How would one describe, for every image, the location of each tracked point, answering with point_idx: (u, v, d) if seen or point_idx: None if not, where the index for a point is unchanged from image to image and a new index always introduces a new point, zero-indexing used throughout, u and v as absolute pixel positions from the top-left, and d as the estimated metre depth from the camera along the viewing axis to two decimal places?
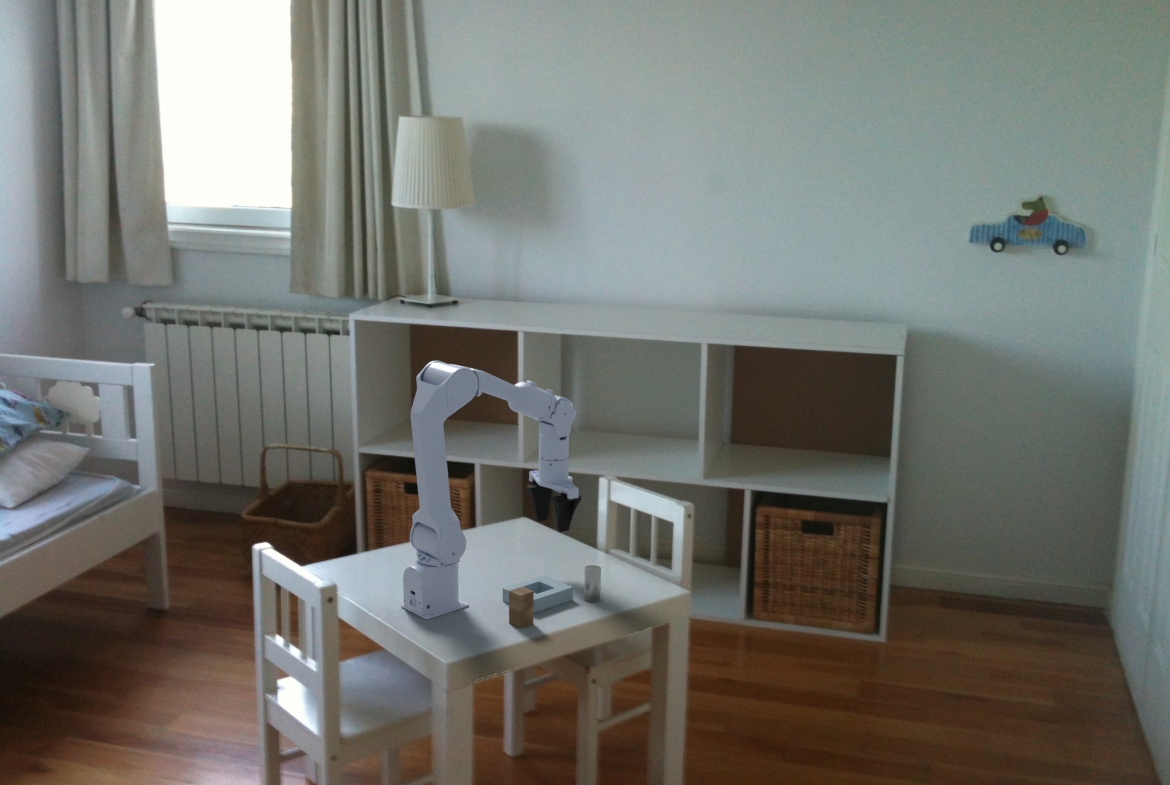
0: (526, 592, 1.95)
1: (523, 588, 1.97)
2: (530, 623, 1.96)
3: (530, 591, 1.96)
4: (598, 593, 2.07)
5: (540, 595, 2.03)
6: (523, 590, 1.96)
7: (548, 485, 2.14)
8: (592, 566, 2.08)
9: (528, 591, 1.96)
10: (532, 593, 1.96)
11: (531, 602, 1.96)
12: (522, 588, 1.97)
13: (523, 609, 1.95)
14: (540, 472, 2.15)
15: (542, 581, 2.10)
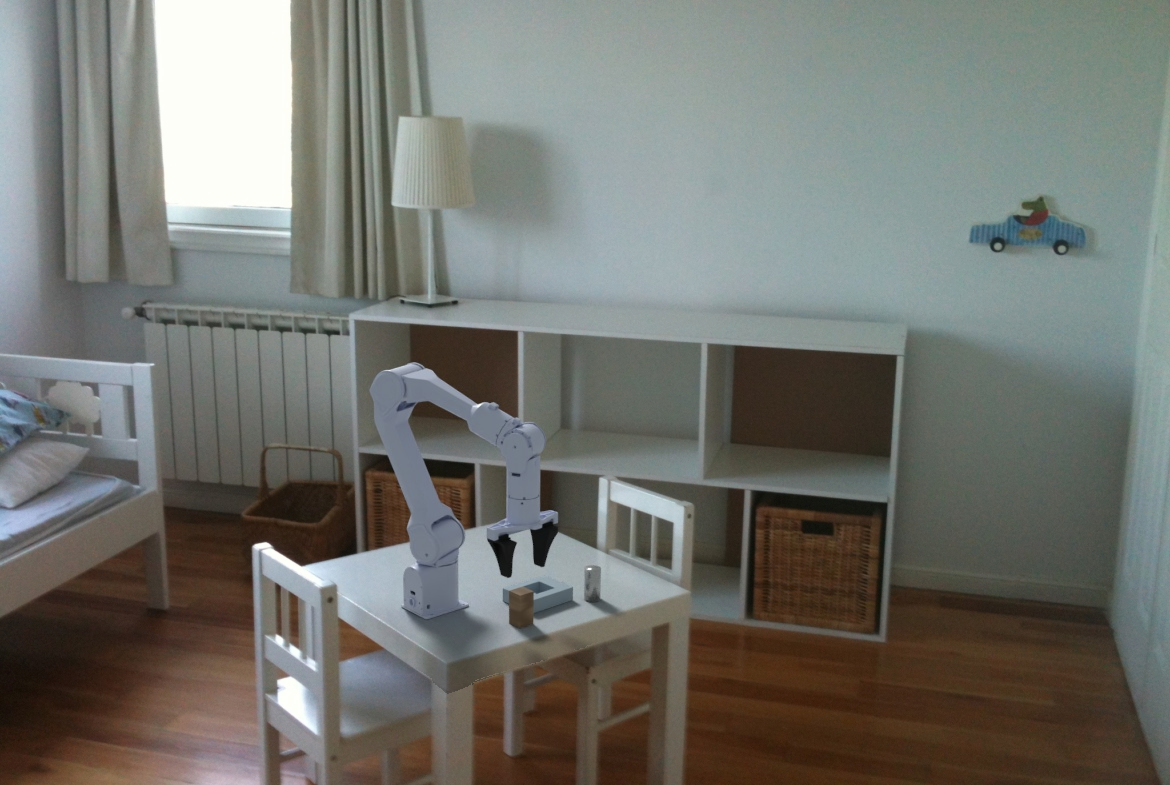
0: (526, 592, 1.95)
1: (523, 588, 1.97)
2: (530, 623, 1.96)
3: (530, 591, 1.96)
4: (598, 593, 2.07)
5: (540, 595, 2.03)
6: (523, 590, 1.96)
7: None
8: (592, 566, 2.08)
9: (528, 591, 1.96)
10: (532, 593, 1.96)
11: (531, 602, 1.96)
12: (522, 588, 1.97)
13: (523, 609, 1.95)
14: None
15: (542, 581, 2.10)
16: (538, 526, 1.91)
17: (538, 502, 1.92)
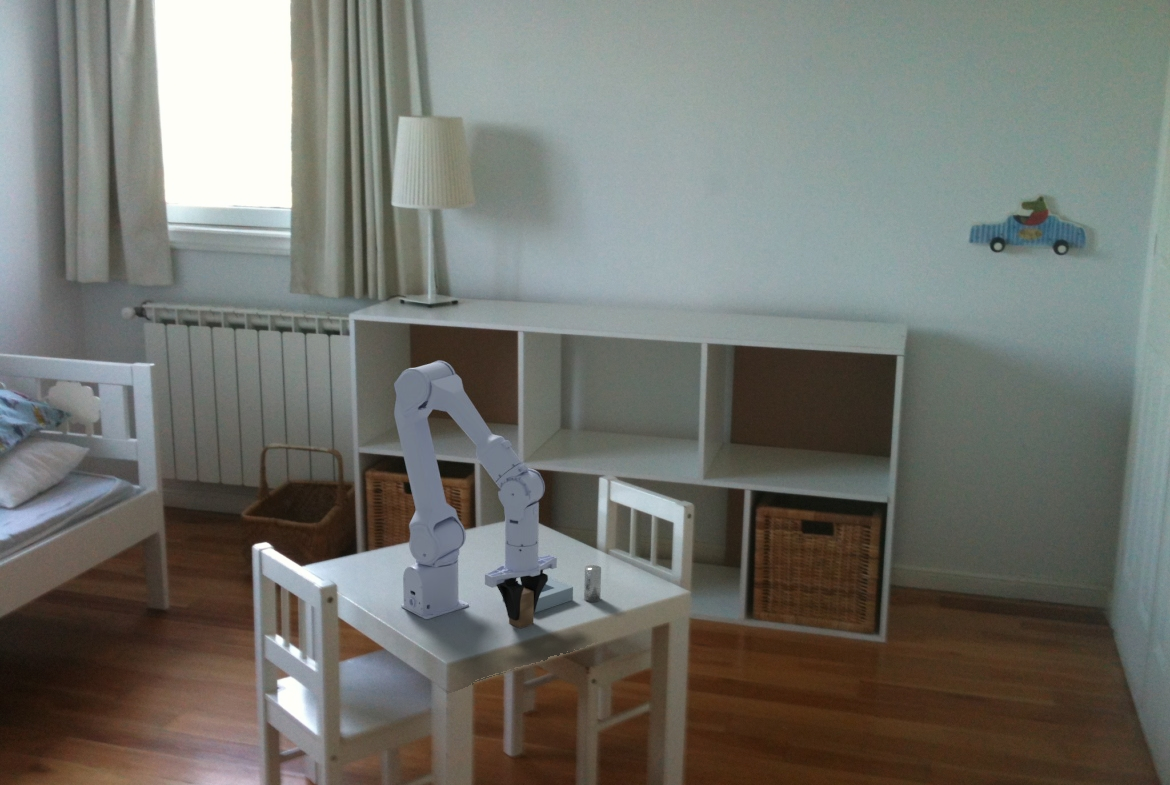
0: (526, 592, 1.95)
1: None
2: (530, 623, 1.96)
3: (530, 591, 1.96)
4: (598, 593, 2.07)
5: (540, 595, 2.03)
6: (523, 590, 1.96)
7: None
8: (592, 566, 2.08)
9: (528, 591, 1.96)
10: (532, 593, 1.96)
11: (531, 602, 1.96)
12: None
13: (523, 609, 1.95)
14: None
15: None
16: (536, 573, 1.92)
17: (536, 548, 1.93)
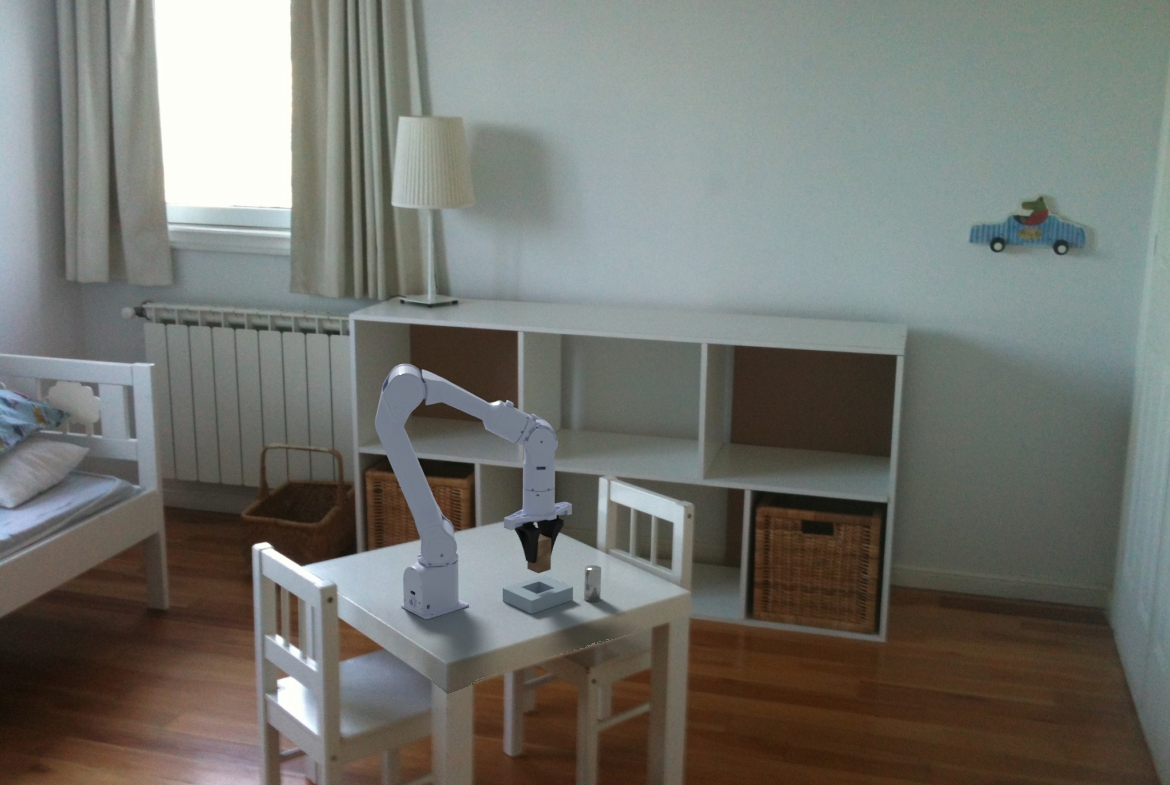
0: (544, 539, 2.04)
1: (541, 535, 2.06)
2: (547, 568, 2.05)
3: (548, 538, 2.04)
4: (598, 593, 2.07)
5: (540, 595, 2.03)
6: (541, 537, 2.05)
7: None
8: (592, 566, 2.08)
9: (546, 538, 2.04)
10: (550, 540, 2.04)
11: (548, 548, 2.05)
12: (540, 535, 2.06)
13: (541, 555, 2.04)
14: None
15: (542, 581, 2.10)
16: (553, 517, 2.01)
17: (553, 494, 2.02)
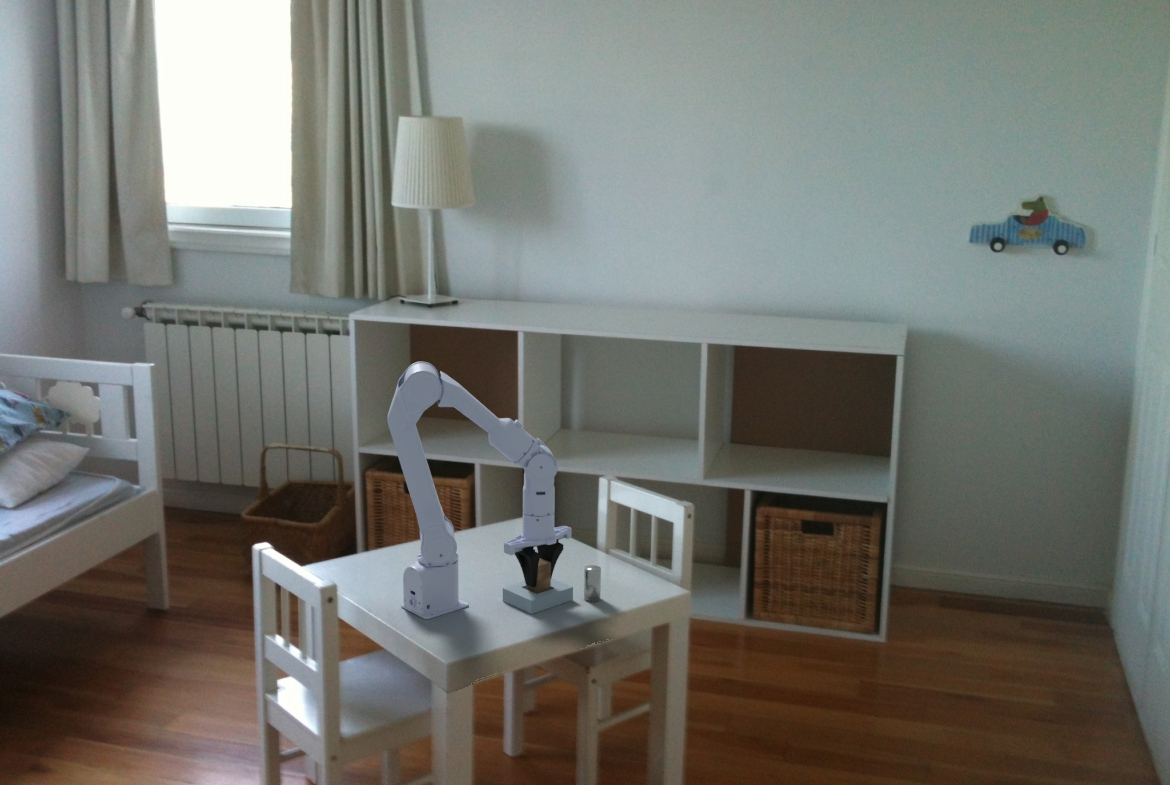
0: (544, 563, 2.05)
1: (541, 559, 2.07)
2: None
3: (548, 562, 2.05)
4: (598, 593, 2.07)
5: (540, 595, 2.03)
6: (540, 561, 2.06)
7: None
8: (592, 566, 2.08)
9: (546, 562, 2.05)
10: (549, 564, 2.05)
11: (548, 572, 2.05)
12: (540, 559, 2.07)
13: (541, 579, 2.04)
14: None
15: None
16: (552, 541, 2.02)
17: (553, 518, 2.03)
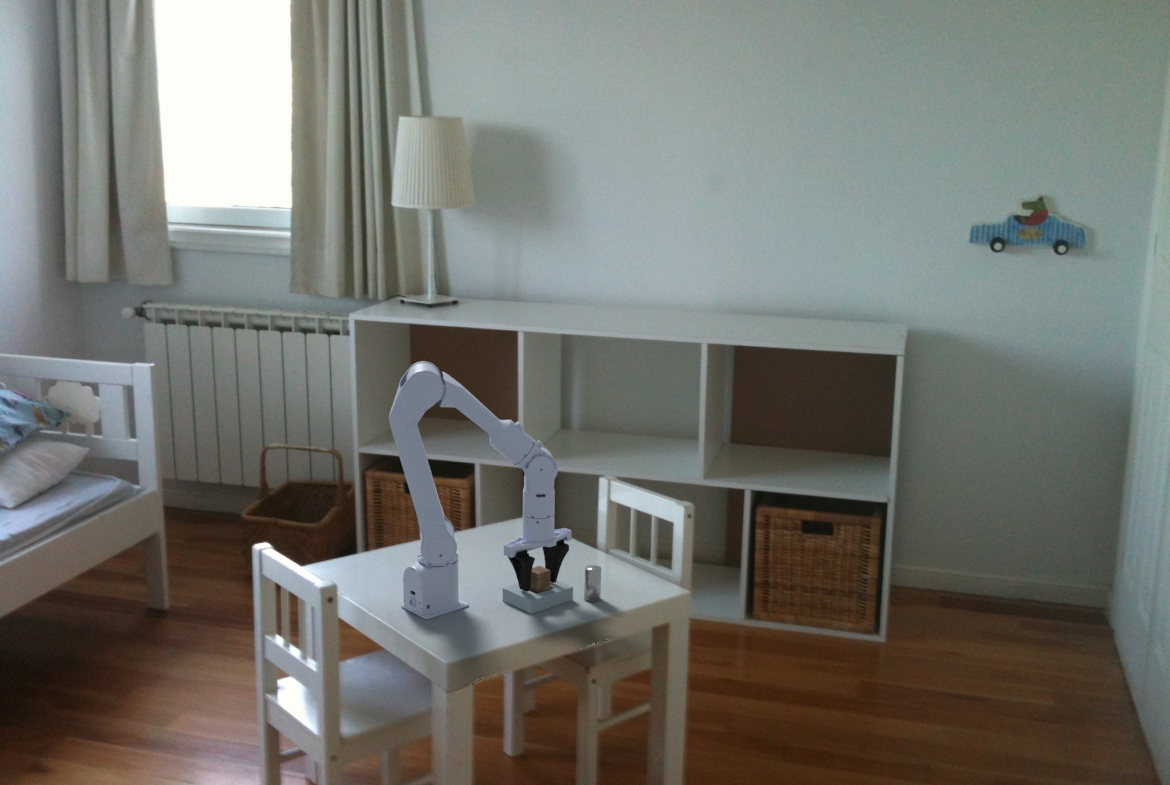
0: (543, 571, 2.05)
1: (540, 567, 2.07)
2: None
3: (547, 570, 2.06)
4: (598, 593, 2.07)
5: (540, 595, 2.03)
6: (540, 569, 2.06)
7: None
8: (592, 566, 2.08)
9: (545, 570, 2.06)
10: (549, 572, 2.06)
11: (548, 580, 2.06)
12: (539, 567, 2.07)
13: (540, 587, 2.05)
14: None
15: None
16: (552, 544, 2.02)
17: (552, 521, 2.03)
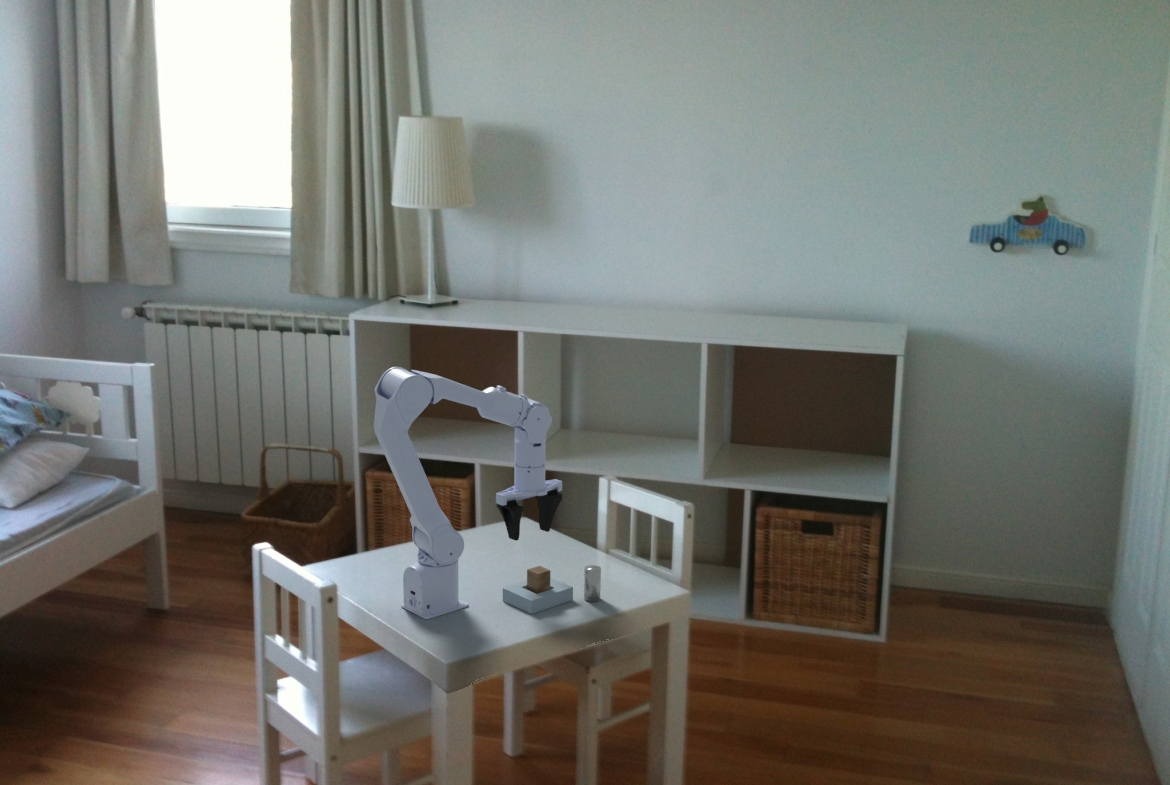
0: (543, 571, 2.05)
1: (540, 567, 2.07)
2: None
3: (547, 570, 2.06)
4: (598, 593, 2.07)
5: (540, 595, 2.03)
6: (540, 569, 2.06)
7: None
8: (592, 566, 2.08)
9: (545, 570, 2.06)
10: (549, 572, 2.06)
11: (548, 580, 2.06)
12: (539, 567, 2.07)
13: (540, 587, 2.05)
14: None
15: None
16: (543, 493, 2.07)
17: (543, 470, 2.08)
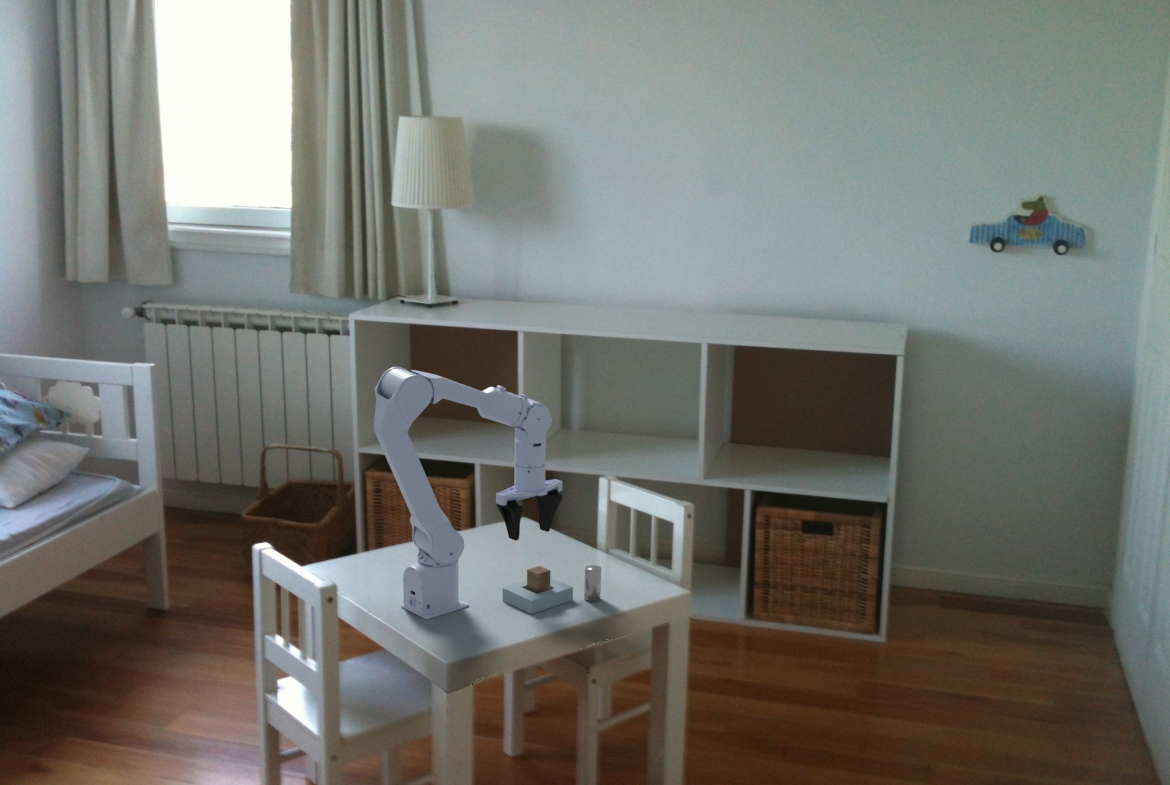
0: (543, 571, 2.05)
1: (540, 567, 2.07)
2: None
3: (547, 570, 2.06)
4: (598, 593, 2.07)
5: (540, 595, 2.03)
6: (540, 569, 2.06)
7: None
8: (592, 566, 2.08)
9: (545, 570, 2.06)
10: (549, 572, 2.06)
11: (548, 580, 2.06)
12: (539, 567, 2.07)
13: (540, 587, 2.05)
14: None
15: None
16: (543, 493, 2.07)
17: (543, 470, 2.08)
